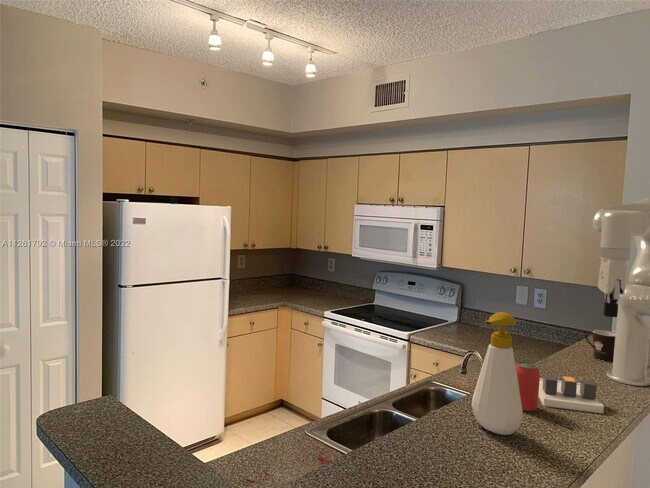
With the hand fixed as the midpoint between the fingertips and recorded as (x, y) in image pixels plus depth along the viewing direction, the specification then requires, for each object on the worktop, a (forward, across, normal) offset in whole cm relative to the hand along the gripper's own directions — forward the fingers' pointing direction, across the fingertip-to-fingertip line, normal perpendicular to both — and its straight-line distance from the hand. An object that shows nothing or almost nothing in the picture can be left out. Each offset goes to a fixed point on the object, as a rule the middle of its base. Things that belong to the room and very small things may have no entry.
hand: (610, 316), depth 140 cm
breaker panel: (+24, +6, -12) cm, 27 cm away
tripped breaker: (+22, +9, -12) cm, 26 cm away
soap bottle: (+22, +37, -33) cm, 55 cm away
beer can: (+23, +19, -24) cm, 39 cm away
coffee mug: (+26, -44, +10) cm, 52 cm away
